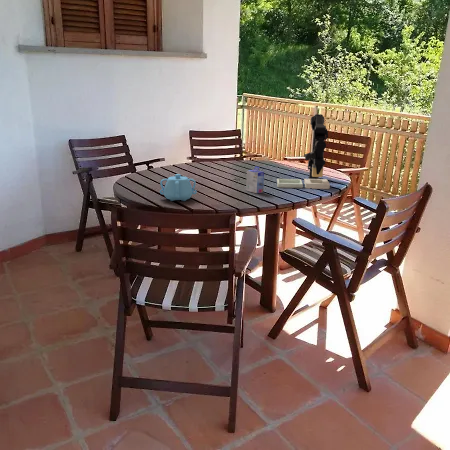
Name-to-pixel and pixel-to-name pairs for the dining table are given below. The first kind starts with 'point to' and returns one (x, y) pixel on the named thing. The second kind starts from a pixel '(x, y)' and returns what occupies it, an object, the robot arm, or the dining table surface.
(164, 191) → the decorative pot
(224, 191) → the dining table surface
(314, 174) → the block
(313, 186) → the white square frame
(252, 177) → the ink cartridge box
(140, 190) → the dining table surface
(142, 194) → the dining table surface
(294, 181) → the parts tray
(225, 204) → the dining table surface
